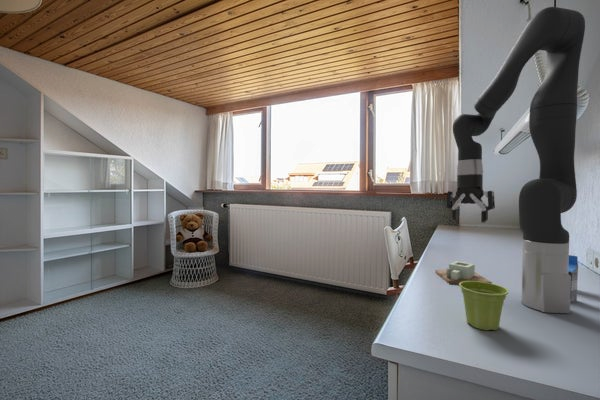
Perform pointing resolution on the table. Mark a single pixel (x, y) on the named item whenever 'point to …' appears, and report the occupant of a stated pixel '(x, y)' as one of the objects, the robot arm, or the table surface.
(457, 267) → the square ring with handle
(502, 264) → the table surface
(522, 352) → the table surface
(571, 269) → the label tape box
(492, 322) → the plant pot
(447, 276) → the locating plate
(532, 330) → the table surface
